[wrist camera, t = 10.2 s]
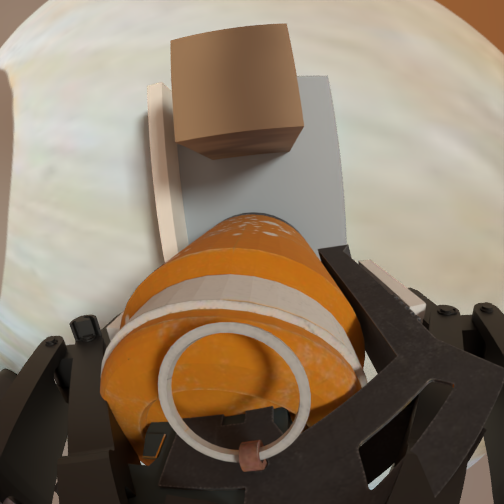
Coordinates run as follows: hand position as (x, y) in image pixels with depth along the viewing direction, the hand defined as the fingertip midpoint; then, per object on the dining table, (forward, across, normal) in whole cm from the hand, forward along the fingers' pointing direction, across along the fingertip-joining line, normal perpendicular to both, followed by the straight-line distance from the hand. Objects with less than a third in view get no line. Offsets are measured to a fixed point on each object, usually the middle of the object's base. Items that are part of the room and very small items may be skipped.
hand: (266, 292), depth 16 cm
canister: (+6, 0, 0) cm, 6 cm away
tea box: (+7, 0, +12) cm, 13 cm away
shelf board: (+8, 0, +3) cm, 8 cm away
